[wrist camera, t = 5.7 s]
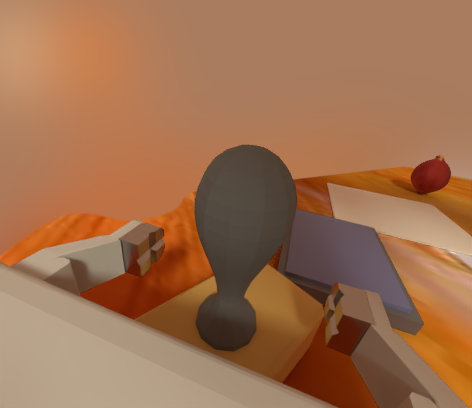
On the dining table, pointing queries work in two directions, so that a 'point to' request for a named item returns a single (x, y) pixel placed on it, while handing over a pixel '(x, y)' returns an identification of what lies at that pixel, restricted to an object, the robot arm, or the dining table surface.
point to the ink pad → (345, 264)
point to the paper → (399, 218)
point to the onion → (431, 175)
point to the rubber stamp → (244, 269)
